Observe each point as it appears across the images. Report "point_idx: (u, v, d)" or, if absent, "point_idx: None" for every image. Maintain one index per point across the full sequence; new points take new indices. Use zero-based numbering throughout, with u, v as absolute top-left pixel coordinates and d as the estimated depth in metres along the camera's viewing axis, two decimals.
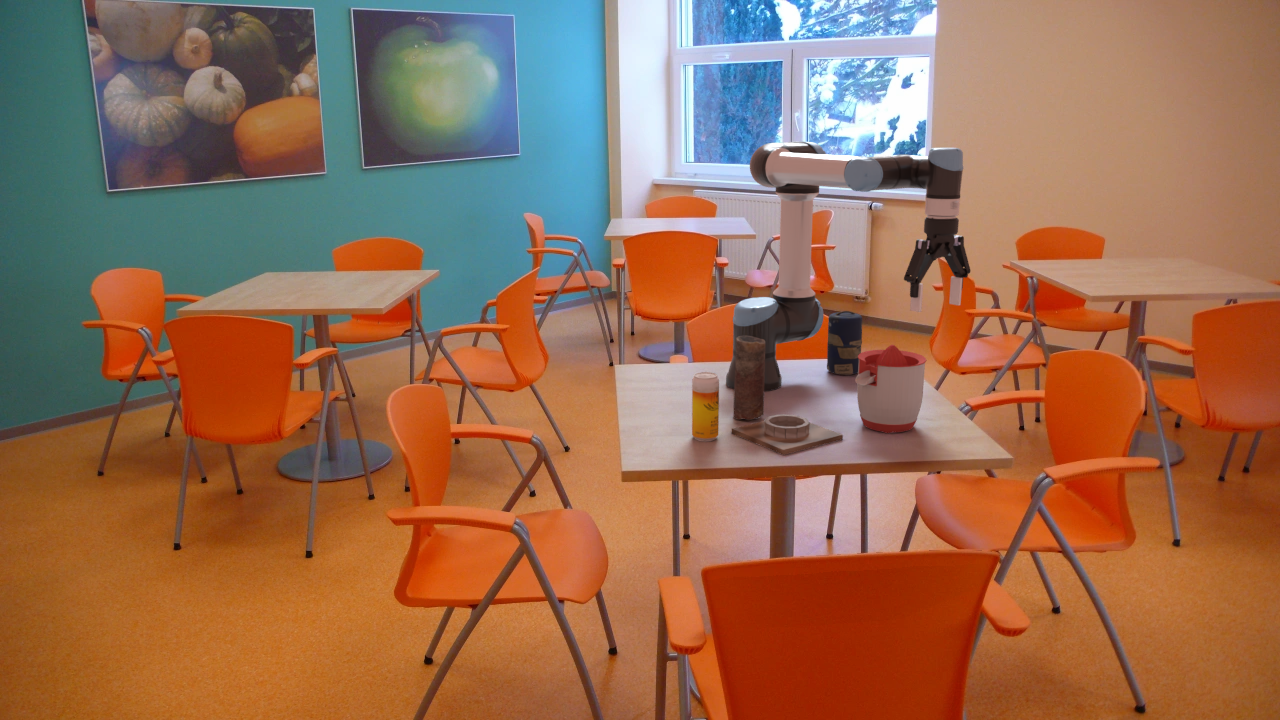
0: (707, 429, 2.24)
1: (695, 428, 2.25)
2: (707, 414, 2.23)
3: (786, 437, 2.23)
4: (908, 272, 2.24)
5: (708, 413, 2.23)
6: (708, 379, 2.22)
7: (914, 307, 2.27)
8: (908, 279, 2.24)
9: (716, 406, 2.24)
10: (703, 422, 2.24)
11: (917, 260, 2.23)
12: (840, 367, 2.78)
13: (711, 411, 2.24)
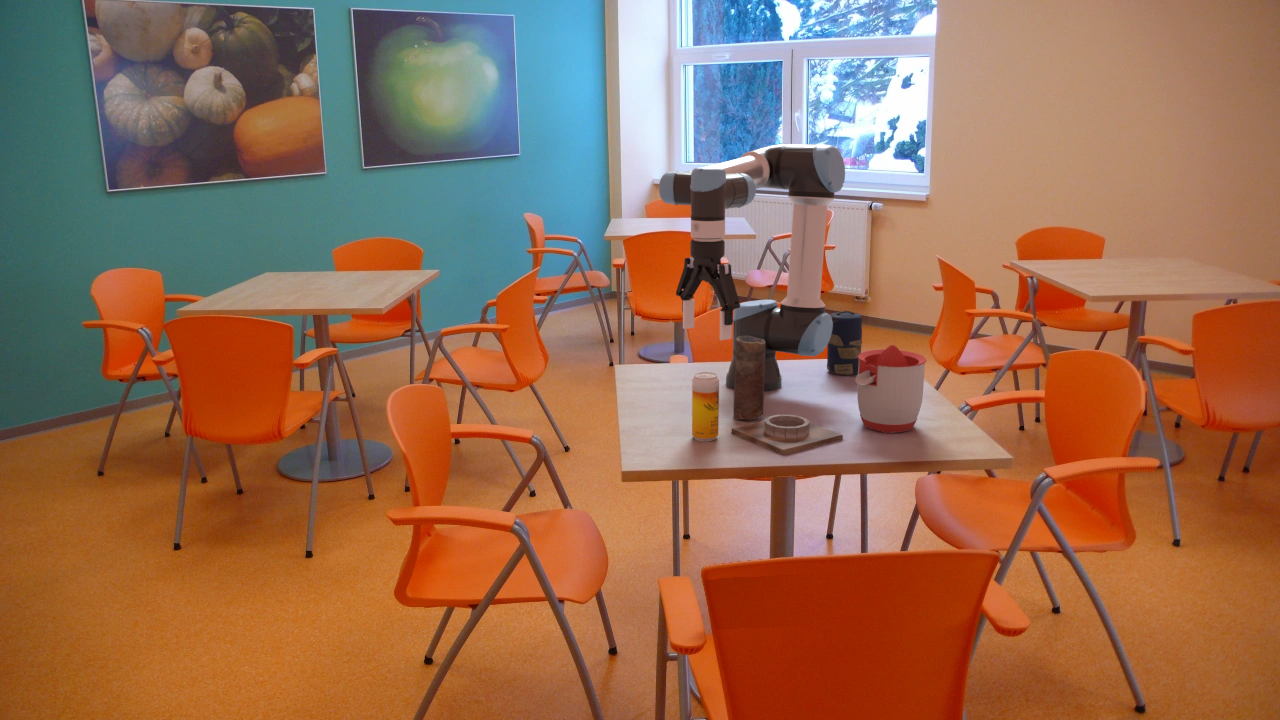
0: (707, 429, 2.24)
1: (695, 428, 2.25)
2: (707, 414, 2.23)
3: (786, 437, 2.23)
4: None
5: (708, 413, 2.23)
6: (708, 379, 2.22)
7: None
8: None
9: (716, 406, 2.24)
10: (703, 422, 2.24)
11: None
12: (840, 367, 2.78)
13: (711, 411, 2.24)
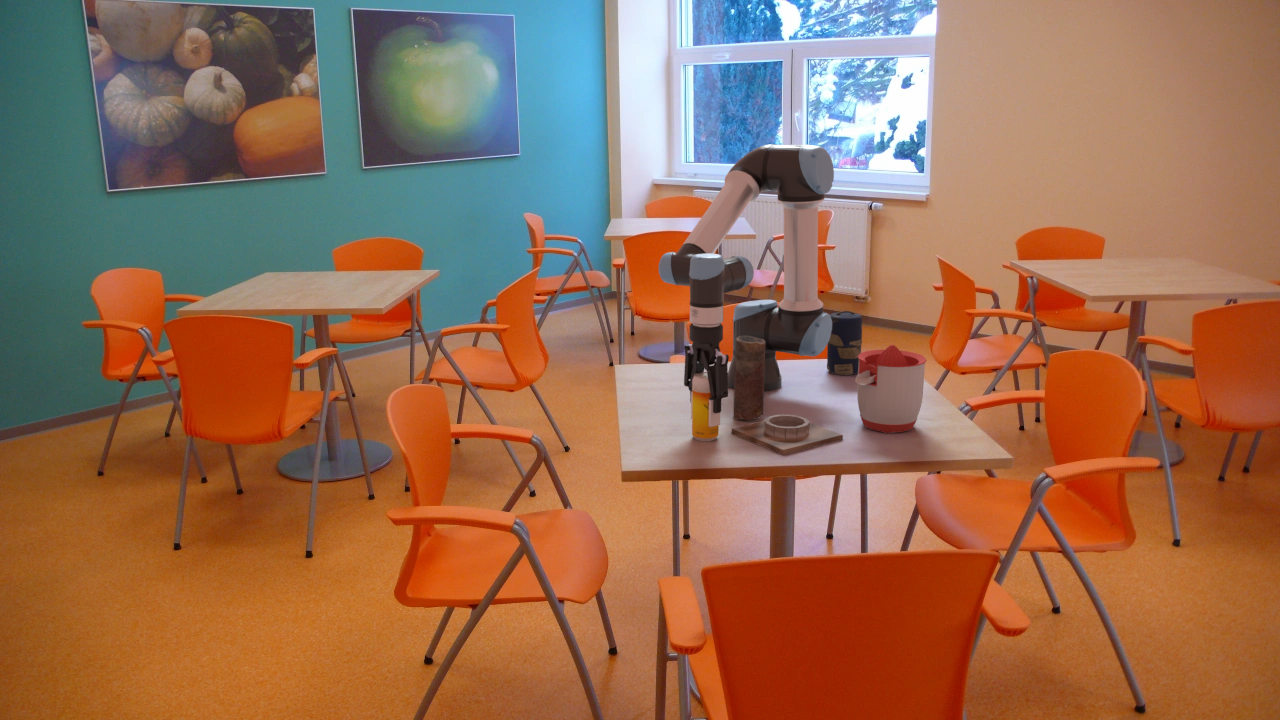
0: (707, 429, 2.24)
1: (695, 428, 2.25)
2: (707, 414, 2.23)
3: (786, 437, 2.23)
4: None
5: (708, 413, 2.23)
6: None
7: None
8: None
9: None
10: (703, 422, 2.24)
11: None
12: (840, 367, 2.78)
13: None
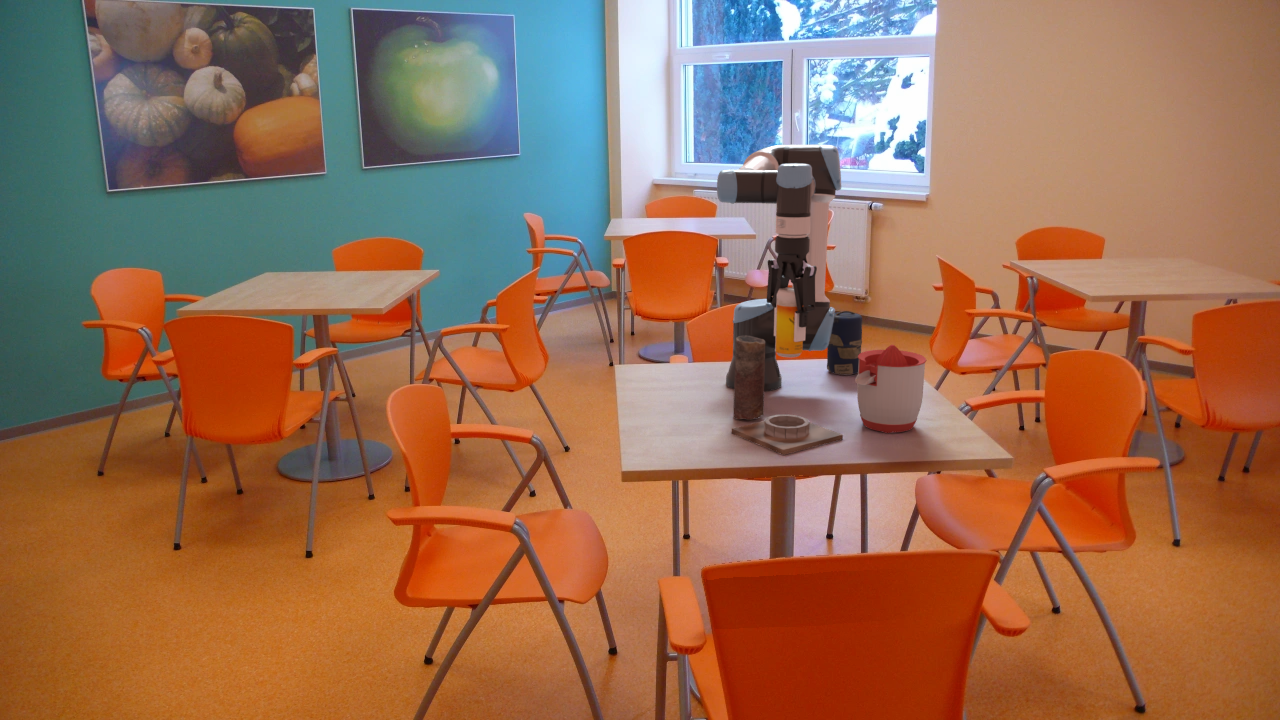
0: (792, 344, 2.20)
1: (779, 343, 2.21)
2: (793, 329, 2.19)
3: (786, 437, 2.23)
4: None
5: (793, 328, 2.19)
6: None
7: None
8: None
9: None
10: (788, 337, 2.19)
11: None
12: (840, 367, 2.78)
13: None
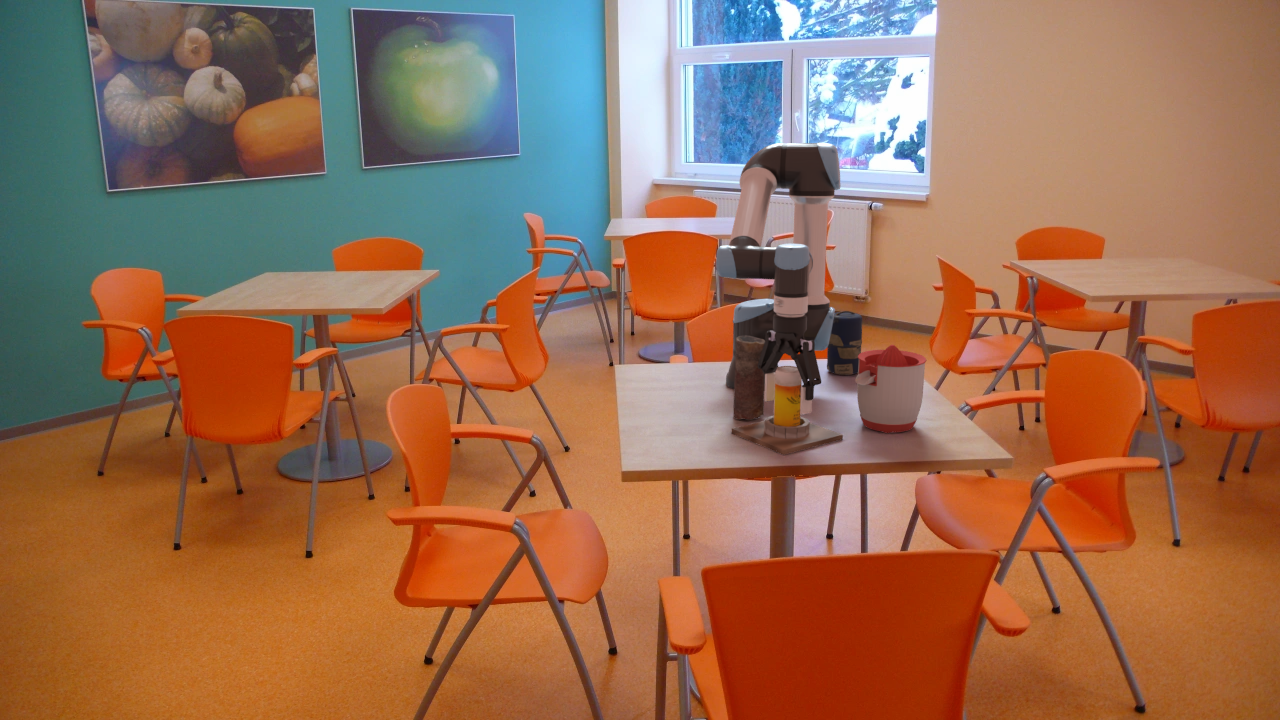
0: (789, 422, 2.25)
1: (777, 421, 2.26)
2: (790, 408, 2.24)
3: (786, 437, 2.23)
4: None
5: (791, 407, 2.24)
6: (792, 372, 2.22)
7: None
8: None
9: (799, 400, 2.24)
10: (786, 416, 2.24)
11: None
12: (840, 367, 2.78)
13: (794, 404, 2.24)
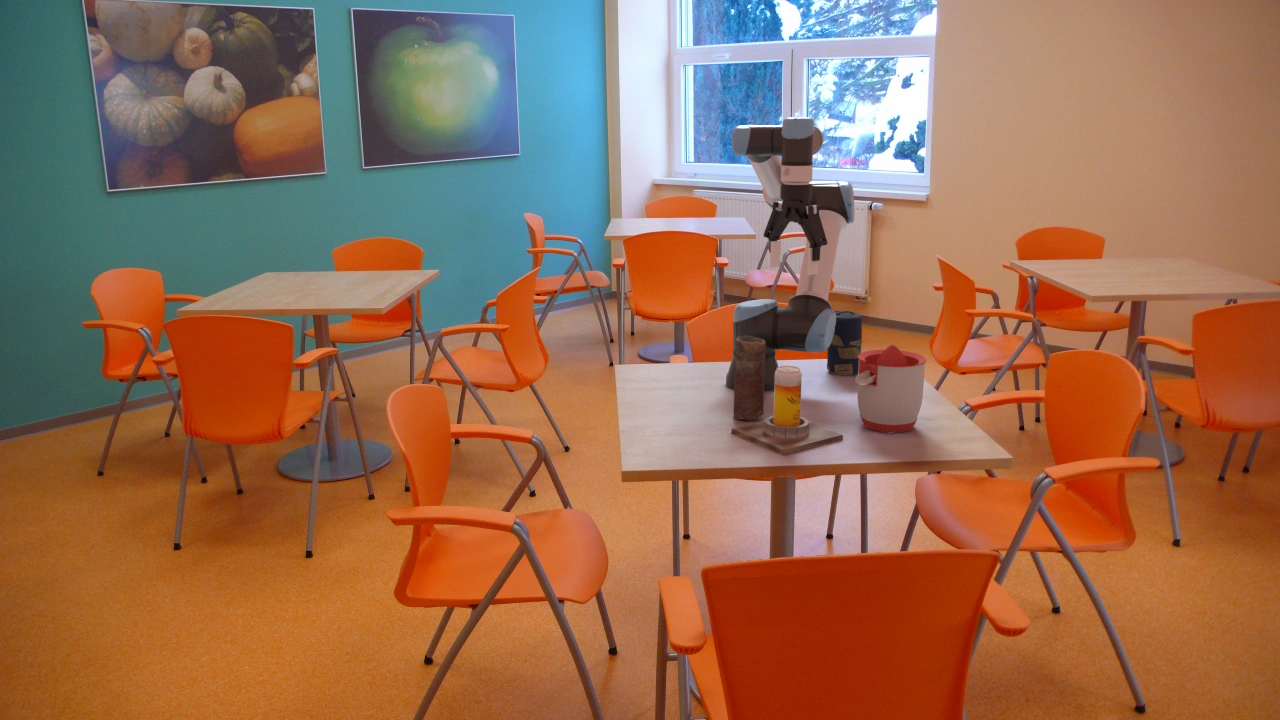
0: (789, 422, 2.25)
1: (777, 421, 2.26)
2: (790, 408, 2.24)
3: (786, 437, 2.23)
4: None
5: (791, 407, 2.24)
6: (792, 372, 2.22)
7: None
8: None
9: (799, 400, 2.24)
10: (786, 416, 2.24)
11: None
12: (840, 367, 2.78)
13: (794, 404, 2.24)
